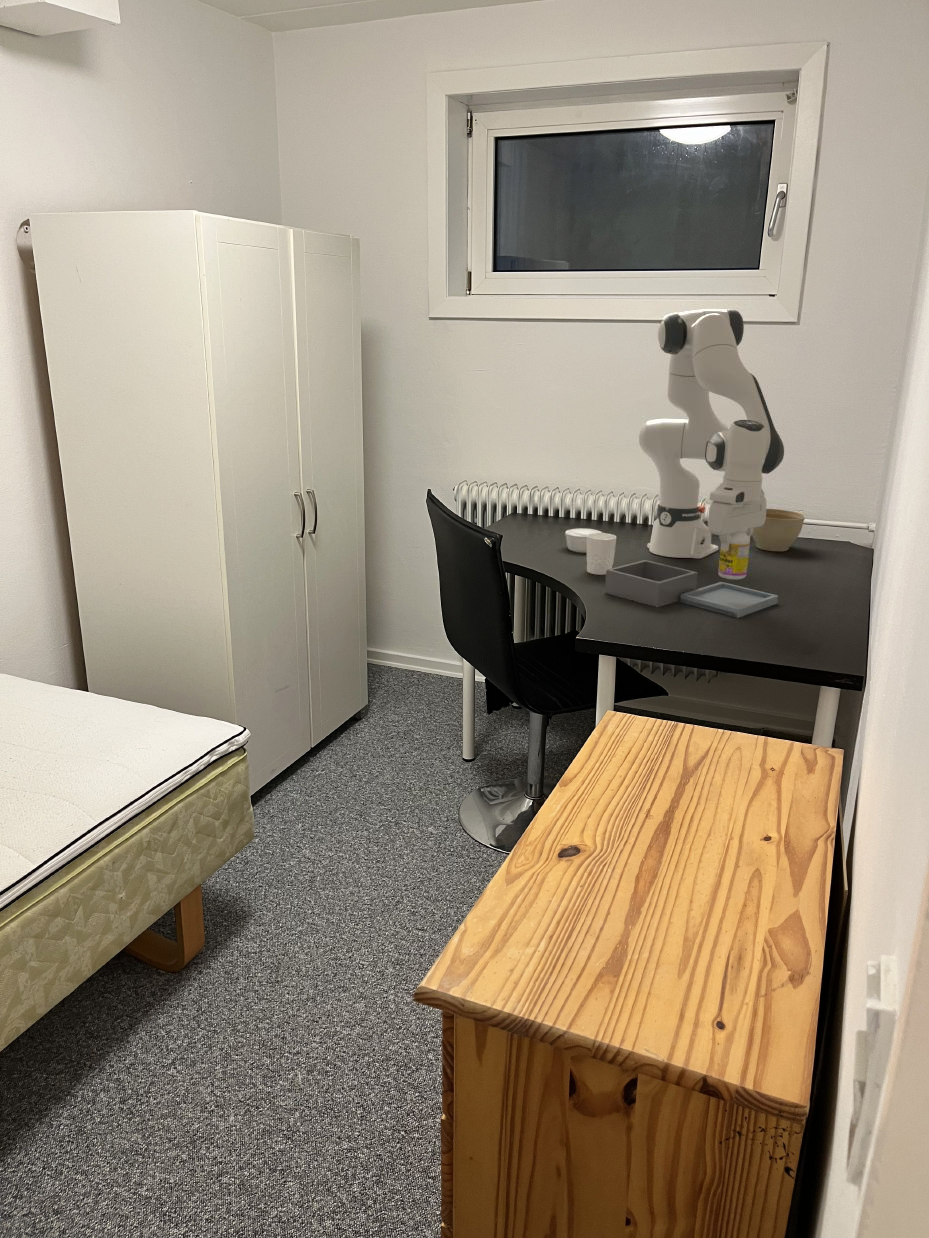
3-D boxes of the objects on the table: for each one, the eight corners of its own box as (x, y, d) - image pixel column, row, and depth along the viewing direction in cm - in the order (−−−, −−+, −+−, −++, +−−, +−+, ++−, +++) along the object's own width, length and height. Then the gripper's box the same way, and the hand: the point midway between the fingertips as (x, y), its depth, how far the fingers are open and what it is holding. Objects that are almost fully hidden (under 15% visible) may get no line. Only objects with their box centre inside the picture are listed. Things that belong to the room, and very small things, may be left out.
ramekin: (561, 552, 270) (562, 534, 268) (567, 543, 280) (568, 527, 279) (599, 555, 267) (600, 537, 266) (604, 546, 278) (605, 529, 276)
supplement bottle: (712, 574, 223) (716, 522, 219) (734, 572, 225) (739, 521, 221) (729, 581, 217) (734, 528, 213) (752, 578, 219) (757, 526, 215)
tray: (720, 589, 235) (721, 581, 234) (777, 603, 223) (778, 595, 223) (680, 602, 223) (680, 594, 222) (738, 617, 212) (739, 609, 211)
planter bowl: (774, 557, 269) (779, 521, 266) (734, 545, 282) (738, 511, 279) (811, 551, 277) (816, 516, 273) (770, 540, 290) (774, 506, 287)
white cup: (613, 576, 244) (615, 540, 241) (583, 574, 246) (585, 538, 243) (614, 569, 252) (617, 534, 249) (585, 567, 253) (588, 532, 250)
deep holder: (643, 581, 240) (645, 559, 238) (695, 595, 229) (697, 572, 227) (604, 592, 229) (606, 569, 228) (657, 607, 218) (659, 583, 216)
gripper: (752, 485, 224) (745, 540, 228) (705, 493, 210) (699, 552, 215) (776, 488, 219) (768, 544, 223) (729, 497, 206) (723, 557, 210)
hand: (734, 548), depth 219 cm, fingers closed on supplement bottle, 7 cm apart
